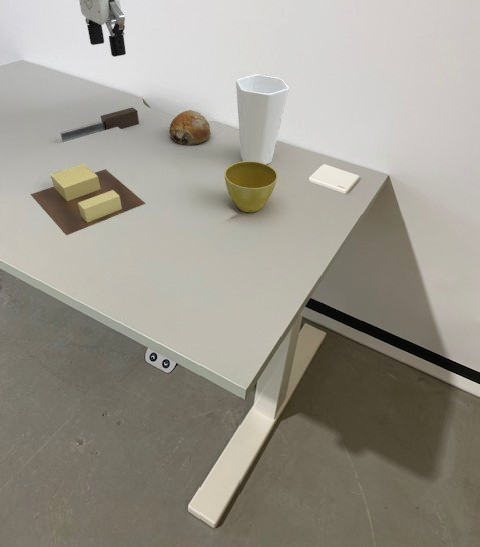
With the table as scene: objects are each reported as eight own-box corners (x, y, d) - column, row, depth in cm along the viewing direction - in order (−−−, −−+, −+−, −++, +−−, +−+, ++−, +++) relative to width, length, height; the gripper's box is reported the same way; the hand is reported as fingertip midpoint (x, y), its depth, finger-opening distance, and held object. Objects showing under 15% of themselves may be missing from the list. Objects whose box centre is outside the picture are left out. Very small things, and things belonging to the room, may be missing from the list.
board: (68, 241, 74) (66, 235, 73) (32, 200, 82) (30, 194, 81) (146, 209, 82) (145, 203, 81) (106, 175, 90) (105, 169, 89)
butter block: (67, 201, 80) (63, 188, 78) (53, 187, 83) (49, 174, 81) (100, 189, 84) (97, 176, 81) (86, 176, 87) (83, 163, 85)
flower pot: (214, 200, 85) (214, 169, 80) (253, 186, 90) (256, 156, 85) (243, 226, 79) (245, 194, 74) (283, 209, 84) (288, 178, 79)
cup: (230, 148, 101) (233, 74, 89) (270, 146, 103) (278, 73, 91) (240, 172, 93) (244, 95, 82) (283, 169, 95) (293, 93, 83)
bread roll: (211, 155, 106) (223, 124, 102) (178, 147, 99) (190, 114, 95) (191, 139, 111) (202, 109, 108) (159, 131, 104) (169, 99, 101)
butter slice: (87, 222, 76) (83, 209, 74) (81, 216, 77) (77, 202, 75) (122, 209, 79) (119, 195, 77) (115, 203, 80) (112, 189, 78)
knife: (134, 120, 110) (132, 107, 108) (139, 123, 109) (137, 110, 106) (60, 141, 100) (57, 127, 98) (65, 145, 99) (61, 130, 96)
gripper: (56, -51, 85) (75, 42, 97) (96, -37, 76) (111, 63, 88) (90, -52, 89) (104, 37, 101) (132, -40, 80) (142, 57, 92)
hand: (107, 49), depth 94 cm, fingers open, 9 cm apart
